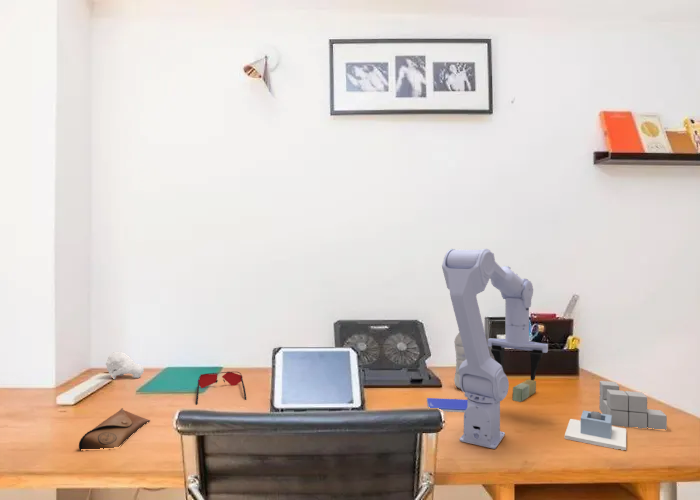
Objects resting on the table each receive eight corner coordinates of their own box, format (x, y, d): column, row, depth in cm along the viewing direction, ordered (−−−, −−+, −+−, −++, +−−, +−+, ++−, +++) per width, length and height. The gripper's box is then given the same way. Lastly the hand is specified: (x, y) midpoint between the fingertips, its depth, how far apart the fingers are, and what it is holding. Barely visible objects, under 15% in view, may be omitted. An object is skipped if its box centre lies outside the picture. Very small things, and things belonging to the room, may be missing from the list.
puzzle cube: (667, 431, 107) (667, 398, 107) (610, 425, 111) (610, 393, 111) (650, 414, 118) (650, 384, 119) (599, 409, 122) (599, 380, 122)
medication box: (521, 403, 127) (521, 389, 127) (511, 400, 129) (512, 387, 129) (536, 393, 136) (536, 380, 136) (527, 391, 138) (527, 378, 138)
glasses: (242, 385, 145) (242, 369, 145) (246, 401, 129) (246, 383, 129) (197, 388, 141) (197, 372, 141) (195, 406, 125) (195, 388, 125)
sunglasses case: (118, 450, 96) (102, 423, 96) (89, 467, 95) (73, 440, 95) (152, 419, 114) (139, 396, 114) (127, 434, 113) (114, 411, 113)
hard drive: (428, 407, 120) (476, 408, 119) (426, 397, 128) (470, 399, 127) (428, 412, 120) (476, 414, 119) (426, 402, 128) (470, 404, 127)
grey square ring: (610, 439, 100) (610, 423, 100) (580, 433, 104) (580, 418, 104) (611, 430, 105) (611, 415, 105) (583, 424, 109) (583, 410, 109)
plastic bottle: (478, 387, 141) (478, 324, 141) (471, 393, 135) (471, 327, 136) (458, 384, 145) (458, 322, 145) (451, 389, 139) (451, 325, 139)
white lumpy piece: (116, 349, 155) (149, 353, 154) (114, 373, 155) (147, 378, 154) (104, 353, 149) (139, 357, 148) (102, 378, 149) (136, 383, 148)
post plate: (626, 451, 96) (626, 426, 96) (564, 438, 102) (564, 415, 102) (626, 432, 106) (626, 410, 106) (570, 421, 113) (570, 401, 113)
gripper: (549, 324, 115) (549, 377, 115) (492, 320, 123) (492, 369, 123) (545, 328, 109) (545, 384, 109) (485, 323, 117) (485, 375, 117)
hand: (517, 377), depth 116 cm, fingers open, 7 cm apart
